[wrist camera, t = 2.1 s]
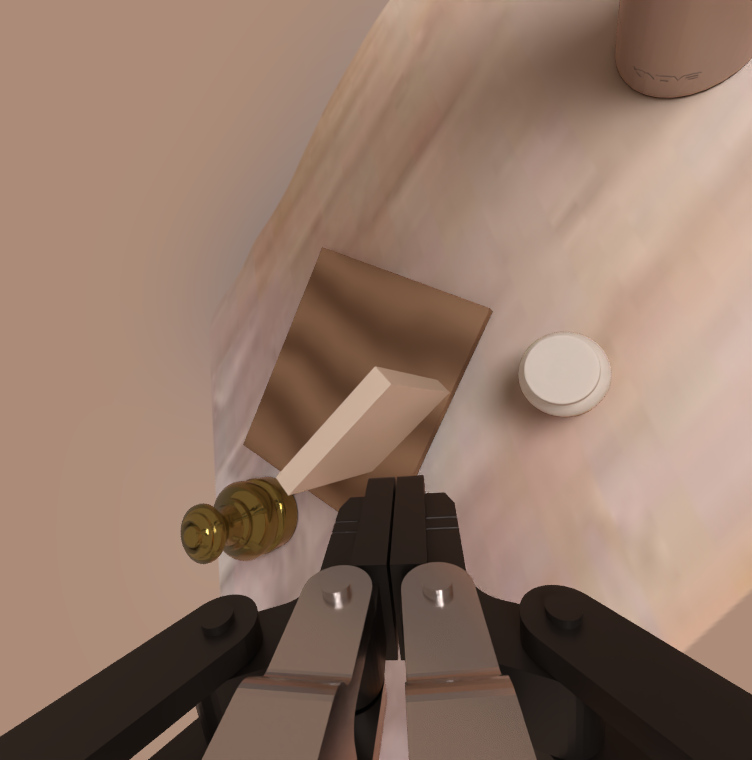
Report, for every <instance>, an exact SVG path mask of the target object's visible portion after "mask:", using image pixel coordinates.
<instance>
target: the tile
mask: <svg viewBox="0 0 752 760" xmlns="http://www.w3.org/2000/svg"><path fill="white" fill-rule="evenodd" d="M449 393H450V392H449V391H448V390H447V389H446V388H445V387H444V386H443V385H442V384H441V383H440V382H439V381H438V380H435V379H431V378H426V377H422V376H417V375H413V374H408V373H403V372H399V371H394V370H390V369H385V368H381V367H376V366H375V367H374V368H373V369H372V370H371V371H370V373H369V374H368V375H367V376H366V377H365V378H364V379H363V380H362V381H361V383H360V384H359V385H358V386H357V387H356V388H355V389H354V390H353V392H352V393H351V394H350V395H349V396H348V397H347V398H346V399H345V400H344V402H343V403H342V404H341V405H340V406H339V407H338V408H337V409H336V411H335V412H334V413H333V414H332V415H331V416H330V417H329V418H328V419H327V421H326V422H325V423H324V424H323V425H322V426H321V427H320V428H319V429H318V431H317V432H316V433H315V434H314V435H313V436H312V437H311V438H310V440H309V441H308V442H307V443H306V444H305V445H304V446H303V447H302V448H301V450H300V451H299V452H298V453H297V454H296V455H295V456H294V457H293V459H292V460H291V461H290V462H289V463H288V464H287V465H286V466H285V467H284V469H283V470H282V471H281V472H280V473H279V474H278V475H277V476H276V478H277V480H278V481H279V483H280V484H281V486H282V487H283V489H284V490H285V492H286V493H287V494H288V496H289V495H292V494H296V493H299V492H303V491H306V490H310V489H313V488H317V487H320V486H324V485H327V484H331V483H334V482H338V481H341V480H344V479H348V478H351V477H355V476H358V475H362V474H365V473H369V472H372V471H373V470H374V469H375V468H376V467H377V466H378V465H379V464H380V463H381V462H382V461H383V460H384V459H385V458H386V457H387V456H388V455H389V454H390V453H391V452H392V451H393V450H394V449H395V448H396V447H397V446H398V445H399V444H400V443H401V442H402V441H403V440H404V439H405V438H406V437H407V436H408V435H409V434H410V433H411V432H412V431H413V430H414V429H415V428H416V427H417V425H418V424H419V423H420V422H421V421H422V420H423V419H424V418H425V417H426V416H427V415H428V414H429V413H430V412H431V411H432V410H433V409H434V408H435V407H436V406H437V405H438V404H439V403H440V402H441V401H442V400H443V399H444V398H445V397H446V396H447V395H448V394H449Z"/></svg>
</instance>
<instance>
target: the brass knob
mask: <svg viewBox="0 0 752 760" xmlns="http://www.w3.org/2000/svg"><path fill="white" fill-rule="evenodd" d="M296 523H297V507H296V503H295V499H294V497H293V495H289V496H288V494H287V493H286V492H285V490H284V489H283V487H282V486H281V484H280V483H279V481H278V480H277V479H276V478H273V477H262V478H255V479H249V480H247V481H239V482H235V483H232V484H230V485H228V486H227V487H226V488H224V489H223V490H222V492H221V493H220V494H219V496H218V497H217V499H216V501H215V504H214V507H213V506H211V505H209V504H198V505H196V506H193V507H192V508H190V509H189V510H188V511H187V512H186V514H185V516H184V518H183V521H182V525H181V540H182V544H183V547H184V549H185V551H186V553H187V554H188V556H189V557H190V558H191V559H192V560H194V561H195V562H197V563H200V564H206V563H211V562H213V561H215V560H216V559H217V558H218V557H219V556H220V555H221V553H222V552H223V551H224V552H225V553H226V554H227V555H229V556H230V557H232V558H234V559H236V560H240V561H250V560H253V559H256V558H258V557H259V556H261V555H262V554H266V553H269V552H271V551H273V550H274V549H276V548H278V547H281V546H282V545H284V544H285V543H286V542H287V541H288V540H289V539H290V538H291V536H292V535H293V533H294V530H295V527H296Z"/></svg>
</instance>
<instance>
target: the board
mask: <svg viewBox="0 0 752 760" xmlns="http://www.w3.org/2000/svg"><path fill="white" fill-rule="evenodd" d="M492 312H493V311H492V310H491V309H490V308H487V307H485V306H482V305H479V304H476V303H474V302H471V301H468V300H466V299H463V298H460V297H457V296H455V295H452V294H449V293H446V292H444V291H441V290H438V289H435V288H433V287H430V286H427V285H424V284H422V283H419V282H416V281H414V280H411V279H408V278H405V277H403V276H400V275H397V274H394V273H392V272H389V271H386V270H383V269H381V268H378V267H375V266H372V265H370V264H367V263H364V262H362V261H359V260H356V259H353V258H351V257H348V256H345V255H342V254H340V253H337V252H334V251H331V250H329V249H326V248H323V247H322V250H321V252H320V255H319V257H318V260H317V262H316V265H315V267H314V270H313V272H312V275H311V277H310V280H309V282H308V285H307V287H306V290H305V292H304V295H303V297H302V300H301V302H300V305H299V307H298V310H297V312H296V315H295V317H294V320H293V322H292V325H291V327H290V330H289V332H288V335H287V337H286V340H285V342H284V345H283V347H282V350H281V352H280V355H279V357H278V360H277V362H276V365H275V367H274V370H273V372H272V375H271V377H270V380H269V382H268V385H267V387H266V390H265V392H264V395H263V397H262V399H261V402H260V404H259V407H258V409H257V412H256V414H255V417H254V419H253V422H252V424H251V427H250V429H249V432H248V434H247V437H246V439H245V442H244V444H243V445H245V446H246V447H247V448H249V449H250V450H252V451H253V452H254V453H256V454H257V455H259V456H260V457H262V458H263V459H264V460H266V461H267V462H269V463H270V464H271V465H273V466H274V467H276V468H277V469H278V470H280V471H282V470H283V469H284V467H285V466H286V465H287V464H288V463H289V462H290V461H291V460H292V459H293V457H294V456H295V455H296V454H297V453H298V452H299V451H300V450H301V448H302V447H303V446H304V445H305V444H306V443H307V442H308V441H309V440H310V438H311V437H312V436H313V435H314V434H315V433H316V432H317V431H318V429H319V428H320V427H321V426H322V425H323V424H324V423H325V422H326V421H327V419H328V418H329V417H330V416H331V415H332V414H333V413H334V412H335V411H336V409H337V408H338V407H339V406H340V405H341V404H342V403H343V402H344V400H345V399H346V398H347V397H348V396H349V395H350V394H351V393H352V392H353V390H354V389H355V388H356V387H357V386H358V385H359V384H360V383H361V381H362V380H363V379H364V378H365V377H366V376H367V375H368V374H369V373H370V371H371V370H372V369H373V368H374V367H375V366H376V367H381V368H385V369H390V370H394V371H399V372H403V373H408V374H413V375H417V376H422V377H426V378H431V379H435V380H438V381H439V382H440V383H441V384H442V385H443V386H444V387H445V388H446V389H447V390H448V391H449V392H450V393H449V394H448V395H447V396H446V397H445V398H444V399H443V400H442V401H441V402H440V403H439V404H438V405H437V406H436V407H435V408H434V409H433V410H432V411H431V412H430V413H429V414H428V415H427V416H426V417H425V418H424V419H423V420H422V421H421V422H420V423H419V424H418V425H417V427H416V428H415V429H414V430H413V431H412V432H411V433H410V434H409V435H408V436H407V437H406V438H405V439H404V440H403V441H402V442H401V443H400V444H399V445H398V446H397V447H396V448H395V449H394V450H393V451H392V452H391V453H390V454H389V455H388V456H387V457H386V458H385V459H384V460H383V461H382V462H381V463H380V464H379V465H378V466H377V467H376V468H375V469H374V470H373V471H372V472H369V473H365V474H362V475H358V476H355V477H351V478H348V479H344V480H341V481H338V482H334V483H331V484H327V485H324V486H320V487H317V488H313V489H310V490H308V491H310V492H311V493H312V494H314V495H315V496H317V497H318V498H319V499H321V500H322V501H324V502H325V503H326V504H328V505H329V506H331V507H332V508H334V509H335V510H336V511H338V512H339V509H340V507H341V506H342V505H343V504H344V503H345V502H346V501H347V500H348V499H349V498H350V497H365V492H366V488H367V483H368V479H369V478H380V477H395V478H396V482H397V477H399V476H417V474H418V472H419V469H420V467H421V465H422V463H423V461H424V459H425V456H426V454H427V452H428V450H429V448H430V446H431V444H432V441H433V439H434V437H435V435H436V433H437V431H438V428H439V426H440V424H441V422H442V420H443V418H444V415H445V413H446V411H447V409H448V407H449V405H450V403H451V400H452V398H453V396H454V394H455V392H456V390H457V387H458V385H459V383H460V381H461V379H462V377H463V374H464V372H465V370H466V368H467V366H468V364H469V361H470V359H471V357H472V355H473V353H474V351H475V349H476V346H477V344H478V342H479V340H480V338H481V336H482V333H483V331H484V329H485V327H486V325H487V323H488V320H489V318H490V316H491V314H492Z"/></svg>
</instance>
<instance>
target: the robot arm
mask: <svg viewBox="0 0 752 760" xmlns="http://www.w3.org/2000/svg"><path fill="white" fill-rule="evenodd" d="M751 58H752V0H620V5H619V15H618V26H617V36H616V47H615V62H616V65H617V69H618V72H619V74H620V75H621V77H622V79H623V80H624V82H626V83H627V84H628V85H629V86H630V87H631V88H632V89H634V90H636V91H638V92H640V93H642V94H645V95H649V96H654V97H668V98H674V97H680V96H686V95H691V94H694V93H697V92H700V91H703V90H706V89H708V88H710V87H712V86H714V85H716V84H718V83H720V82H722V81H724V80H726V79H727V78H728V77H730V76H731V75H733V74H734V73H736V72H737V71H738V70H740V69H741V68H742V67H743V66H744V65H745V64H746V63H747V62H748V61H749V60H750V59H751ZM332 532H333V533H332V534H331V538H330V541H329V544H328V547H327V551H326V554H325V557H324V560H323V564H322V567H321V570H320V572H318V573H317V574H315V575H314V576H313V577H312V578H310V579H309V580H308V582H307V583H306V584H305V586H304V588H303V590H302V592H301V594H300V597H299V598H297V599H295V600H293V601H291V602H289V603H286V604H283V605H280V606H276V607H273V608H269V609H266V610H262V611H259V612H258V610H257V606H256V604H255V602H254V601H253V600H252V599H250V598H249V597H246V596H243V595H227V596H222V597H219V598H216V599H214V600H211V601H209V602H207V603H206V604H204V605H202V606H201V607H199V608H198V609H196V610H195V611H193V612H191V613H190V614H189V615H187V616H185V617H184V618H182V619H181V620H179V621H178V622H176V623H174V624H173V625H171V626H170V627H168V628H167V629H165V630H164V631H162V632H161V633H159V634H158V635H156V636H154V637H153V638H151V639H150V640H148V641H147V642H145V643H144V644H142V645H141V646H139V647H138V648H136V649H134V650H133V651H132V652H130V653H128V654H127V655H125V656H124V657H122V658H121V659H119V660H118V661H116V662H114V663H113V664H111V665H110V666H108V667H107V668H105V669H104V670H102V671H101V672H99V673H98V674H96V675H94V676H93V677H91V678H90V679H88V680H87V681H85V682H84V683H82V684H81V685H79V686H78V687H76V688H74V689H73V690H71V691H70V692H68V693H67V694H65V695H64V696H62V697H61V698H59V699H58V700H56V701H54V702H53V703H51V704H50V705H48V706H47V707H45V708H44V709H42V710H41V711H39V712H38V713H36V714H34V715H33V716H31V717H30V718H28V719H27V720H25V721H24V722H22V723H21V724H19V725H18V726H16V727H14V728H13V729H12V730H10V731H8V732H7V733H5V734H4V735H2V736H1V737H0V760H129V759H131V758H132V757H133V756H134V755H136V754H137V753H138V752H139V751H141V750H142V749H143V748H144V747H145V746H147V745H148V744H149V743H150V742H152V741H153V740H154V739H155V738H157V737H158V736H159V735H160V734H161V733H163V732H164V731H165V730H166V729H168V728H169V727H170V726H171V725H173V724H174V723H175V722H176V721H178V720H179V719H180V718H181V717H182V716H184V715H185V714H186V713H187V712H189V711H190V710H191V709H192V708H194V707H195V706H196V709H197V713H198V715H199V718H198V719H197V720H195V721H194V722H193V723H191V724H190V725H189V726H188V727H187V728H185V729H184V730H183V731H182V732H181V733H180V734H178V735H177V736H176V737H175V738H174V739H172V740H171V741H170V742H169V743H168V744H166V745H165V746H164V747H163V748H162V749H160V750H159V751H158V752H157V753H156V754H154V755H153V756H152V757H151V758H150V759H148V760H379V755H380V747H381V740H382V733H383V726H384V718H385V711H386V704H387V692H386V684H385V677H384V673H385V660H398V644H399V647H400V655H401V660H405V662H406V680H407V682H405V694H406V713H407V731H408V749H409V760H752V695H751V694H750V693H748V692H746V691H745V690H743V689H741V688H740V687H738V686H736V685H735V684H733V683H731V682H730V681H728V680H727V679H725V678H723V677H721V676H720V675H718V674H717V673H715V672H713V671H712V670H710V669H708V668H707V667H705V666H703V665H702V664H700V663H698V662H696V661H695V660H693V659H692V658H690V657H689V656H687V655H685V654H684V653H682V652H680V651H679V650H677V649H675V648H674V647H672V646H670V645H669V644H667V643H665V642H664V641H662V640H660V639H659V638H657V637H656V636H654V635H652V634H651V633H649V632H647V631H646V630H644V629H642V628H641V627H639V626H637V625H636V624H634V623H632V622H631V621H629V620H627V619H626V618H624V617H622V616H621V615H619V614H617V613H616V612H614V611H613V610H611V609H609V608H608V607H606V606H604V605H603V604H601V603H599V602H598V601H596V600H594V599H593V598H591V597H589V596H588V595H586V594H584V593H582V592H580V591H578V590H575V589H572V588H569V587H565V586H559V585H545V586H540V587H537V588H534V589H532V590H530V591H529V592H527V593H526V594H525V595H524V597H523V598H522V600H521V603H520V604H517V603H513V602H508V601H504V600H500V599H497V598H494V597H492V596H489V595H487V594H485V593H484V592H482V591H481V590H479V589H478V588H477V587H476V586H475V584H474V582H473V579H472V578H471V576H470V575H469V574H468V573H467V572H466V568H465V562H464V557H463V551H462V545H461V539H460V533H459V528H458V521H457V515H456V509H455V503H454V502H453V501H452V500H451V499H450V498H449V497H448V496H447V495H446V494H445V493H426V494H425V485H424V476H423V475H417V476H399V477H397V482H396V478H395V477H380V478H369V479H368V483H367V488H366V492H365V497H350V498H349V499H348V500H347V501H346V502H345V503H344V504H343V505H342V506H341V507H340V509H339V512H338V515H337V518H336V523H335V525H334V528H333V531H332Z"/></svg>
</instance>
